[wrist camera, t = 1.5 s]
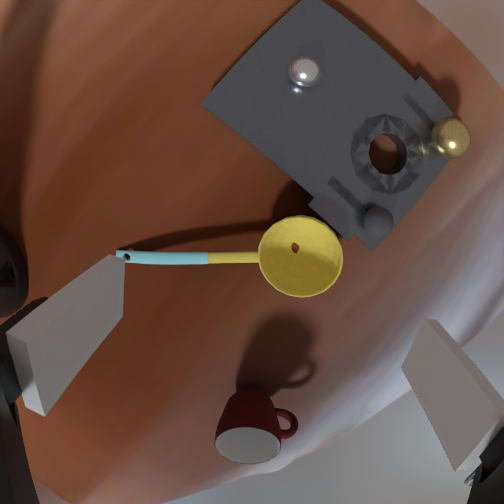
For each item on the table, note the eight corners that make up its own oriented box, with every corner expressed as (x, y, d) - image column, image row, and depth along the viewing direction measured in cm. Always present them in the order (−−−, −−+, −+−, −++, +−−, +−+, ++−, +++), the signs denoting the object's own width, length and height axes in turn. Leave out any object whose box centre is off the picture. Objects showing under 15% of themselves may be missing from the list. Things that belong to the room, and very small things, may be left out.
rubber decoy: (354, 220, 32) (362, 226, 29) (373, 198, 32) (384, 202, 29) (373, 239, 33) (383, 247, 30) (392, 218, 32) (404, 224, 29)
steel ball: (280, 76, 28) (282, 68, 25) (300, 56, 28) (304, 46, 25) (305, 96, 29) (309, 89, 26) (324, 75, 28) (330, 67, 25)
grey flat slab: (198, 114, 32) (193, 111, 30) (312, -3, 27) (315, -13, 25) (360, 252, 36) (366, 258, 34) (458, 134, 31) (469, 133, 29)
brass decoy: (417, 136, 29) (437, 135, 25) (438, 110, 28) (459, 105, 24) (442, 166, 30) (464, 169, 26) (462, 139, 29) (485, 139, 25)
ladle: (341, 281, 37) (341, 305, 31) (145, 271, 43) (122, 288, 38) (343, 207, 34) (344, 220, 28) (135, 210, 41) (108, 221, 35)
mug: (299, 375, 41) (306, 427, 32) (292, 415, 44) (296, 465, 34) (222, 372, 42) (213, 423, 32) (223, 411, 44) (215, 461, 34)
